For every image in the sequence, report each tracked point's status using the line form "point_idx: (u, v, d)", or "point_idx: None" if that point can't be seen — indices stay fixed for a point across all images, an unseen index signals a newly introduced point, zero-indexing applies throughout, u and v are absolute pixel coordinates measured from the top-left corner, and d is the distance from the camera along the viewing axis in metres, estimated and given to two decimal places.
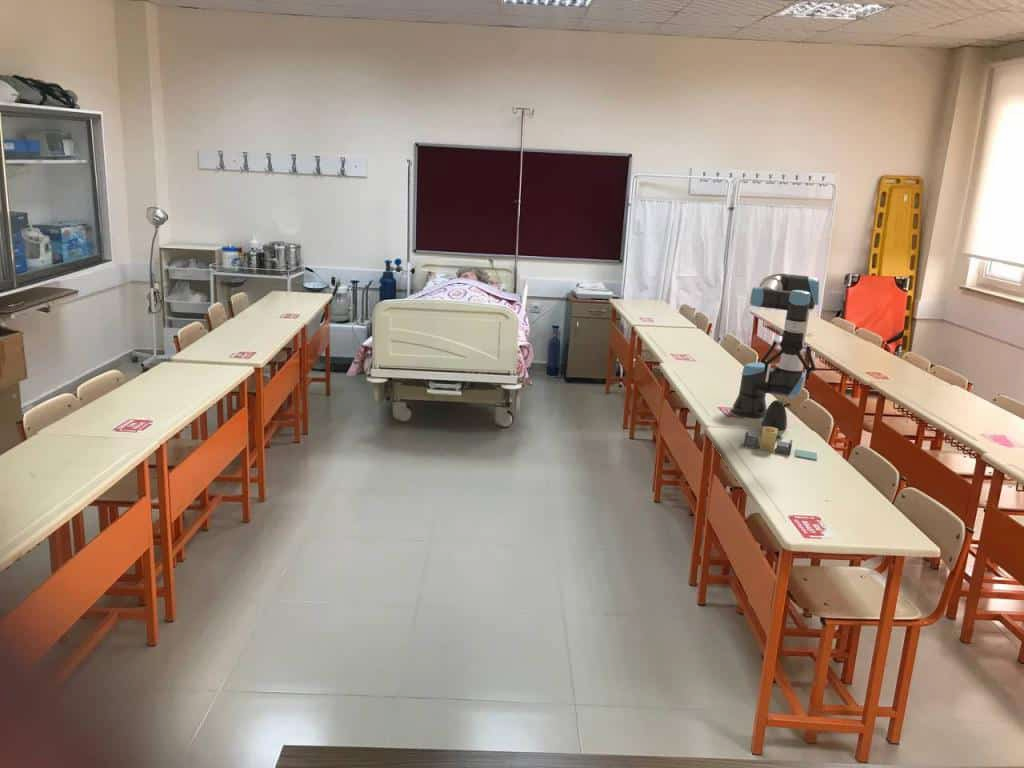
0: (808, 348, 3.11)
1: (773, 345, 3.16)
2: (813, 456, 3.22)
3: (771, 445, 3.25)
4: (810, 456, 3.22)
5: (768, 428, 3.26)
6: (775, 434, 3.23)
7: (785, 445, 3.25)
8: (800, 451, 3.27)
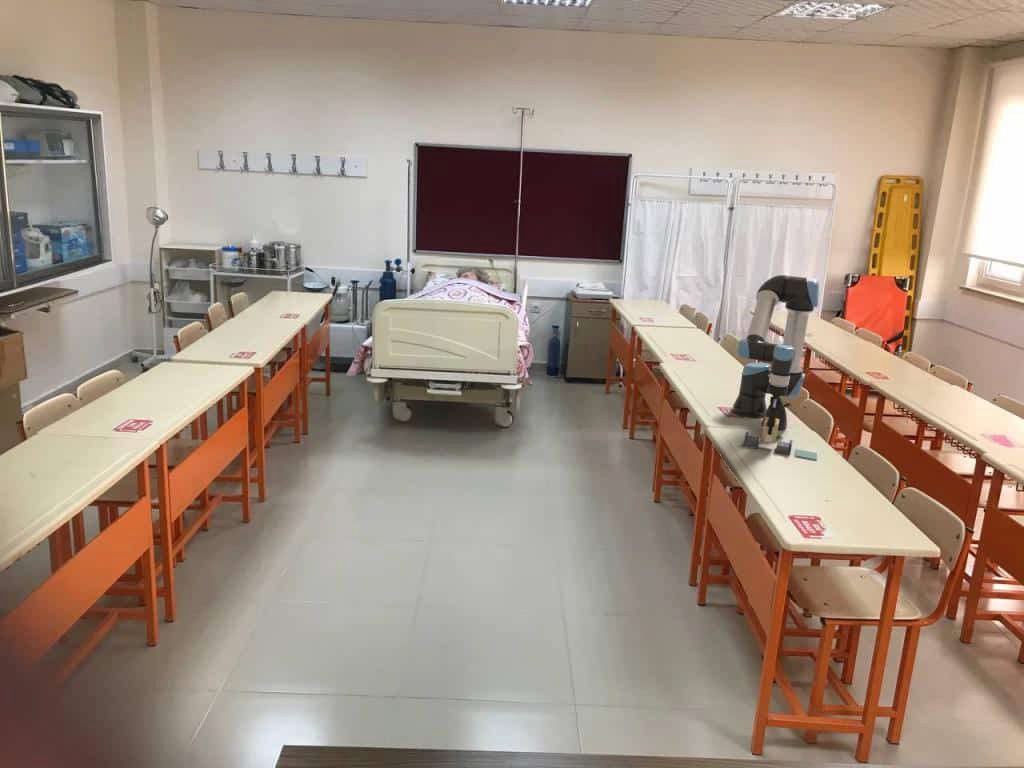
0: (771, 404, 3.18)
1: None
2: (813, 456, 3.22)
3: (773, 436, 3.24)
4: (810, 456, 3.22)
5: None
6: (777, 425, 3.22)
7: (785, 445, 3.25)
8: (800, 451, 3.27)
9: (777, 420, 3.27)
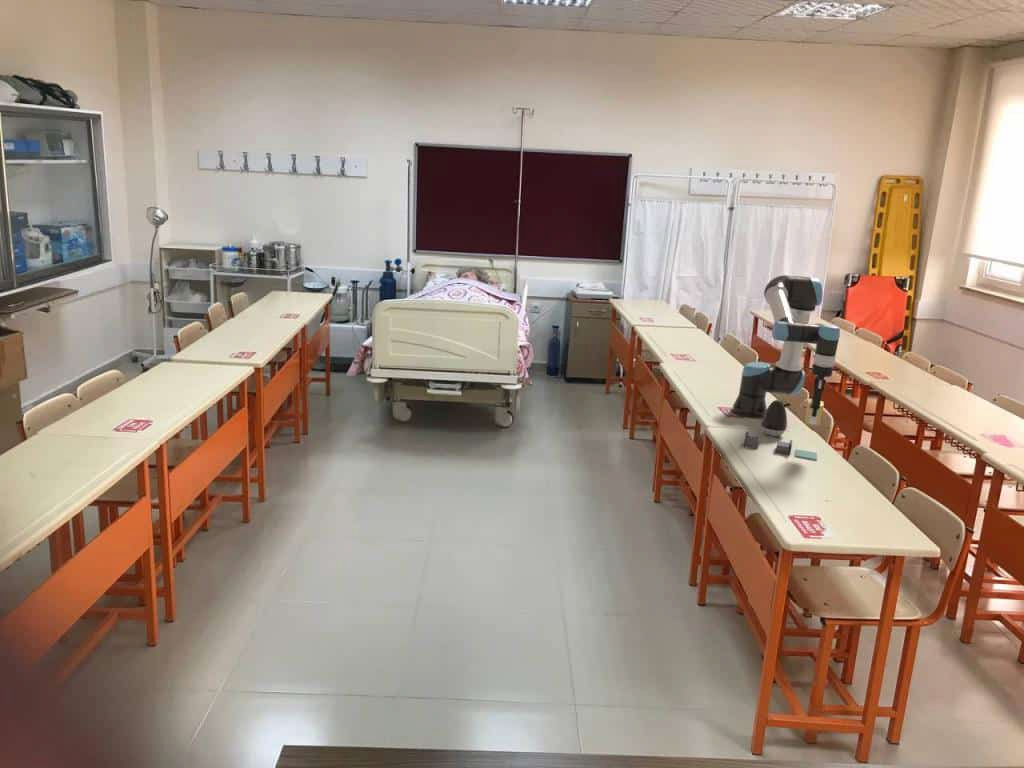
0: (816, 384, 3.11)
1: None
2: (813, 456, 3.22)
3: (817, 418, 3.16)
4: (810, 456, 3.22)
5: None
6: (821, 407, 3.14)
7: (785, 445, 3.25)
8: (800, 451, 3.27)
9: (821, 402, 3.19)
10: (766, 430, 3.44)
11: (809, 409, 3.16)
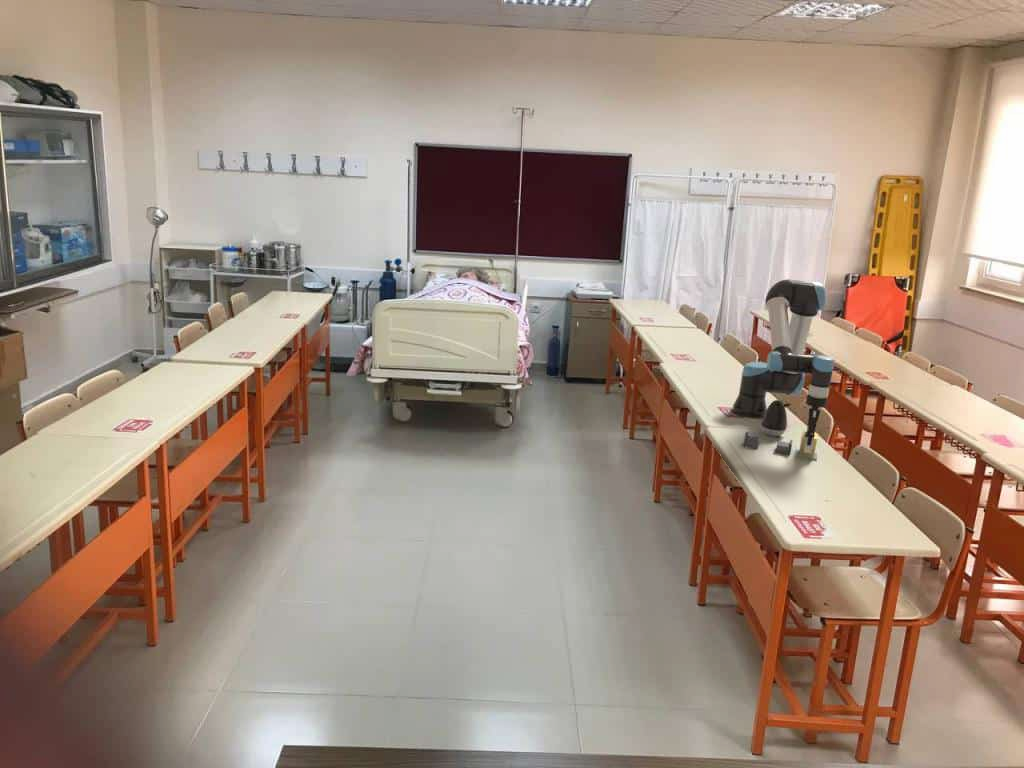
0: (811, 413, 3.14)
1: (811, 407, 3.25)
2: None
3: (811, 451, 3.20)
4: None
5: None
6: (815, 439, 3.18)
7: (785, 445, 3.25)
8: None
9: (815, 435, 3.23)
10: (766, 430, 3.44)
11: (803, 442, 3.20)
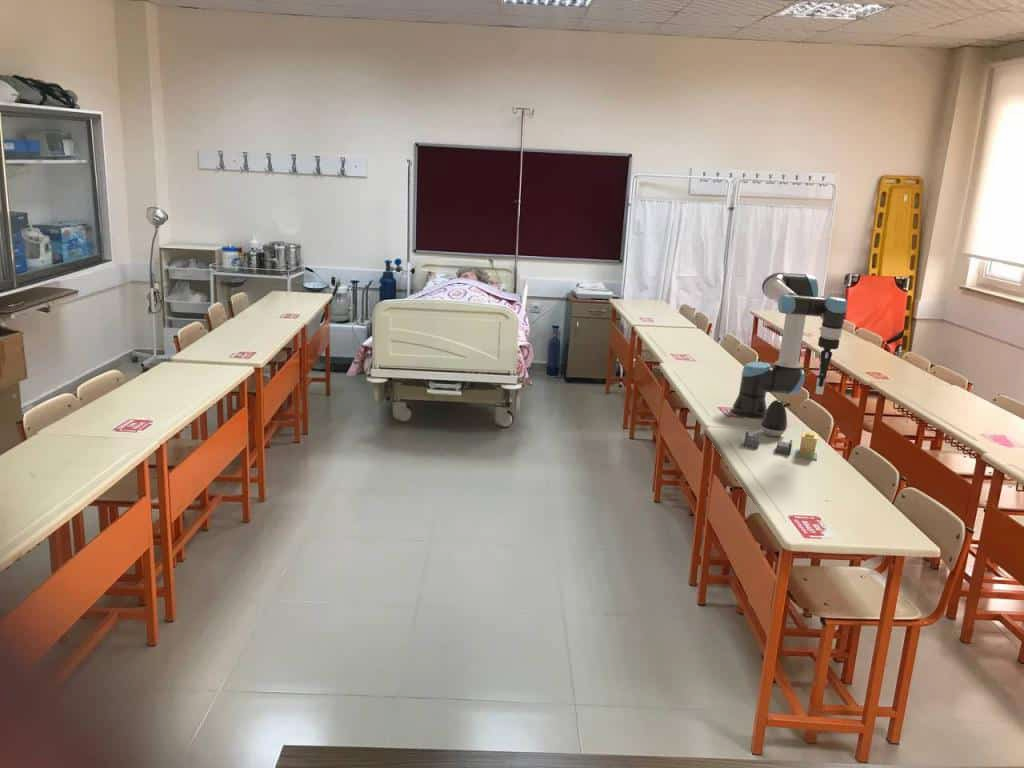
0: (823, 354, 3.14)
1: None
2: None
3: (811, 451, 3.20)
4: None
5: (808, 433, 3.21)
6: (815, 439, 3.18)
7: (785, 445, 3.25)
8: None
9: (815, 435, 3.23)
10: (766, 430, 3.44)
11: (803, 442, 3.20)
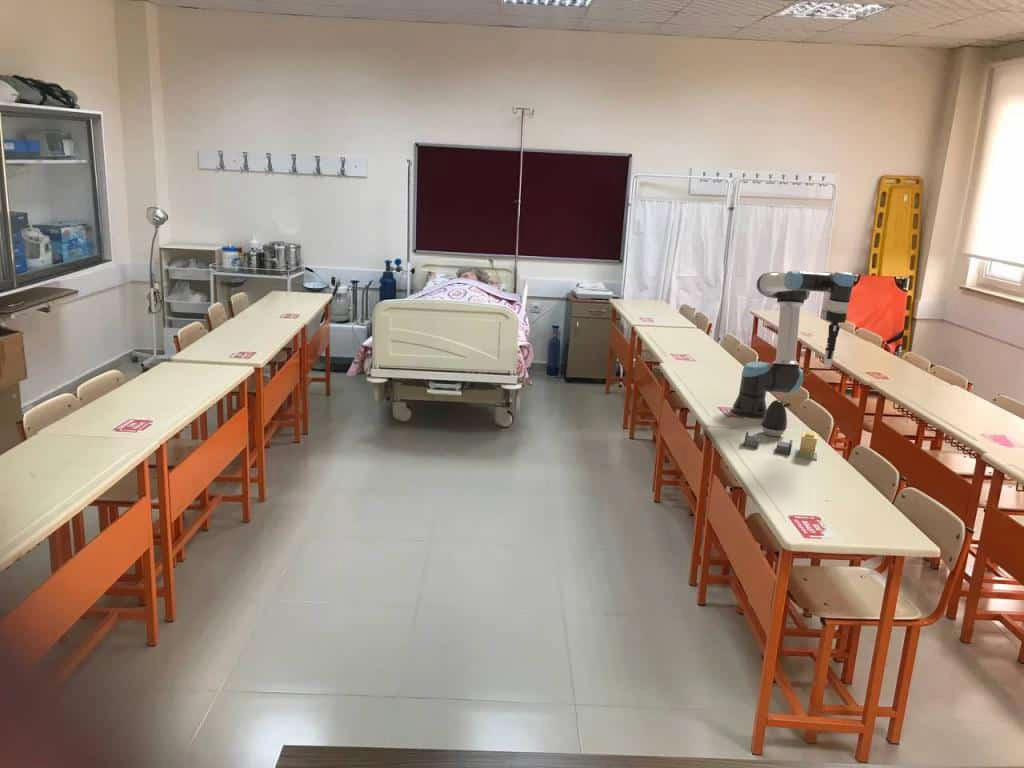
0: (831, 327, 3.20)
1: None
2: None
3: (811, 451, 3.20)
4: None
5: (808, 433, 3.21)
6: (815, 439, 3.18)
7: (785, 445, 3.25)
8: None
9: (815, 435, 3.23)
10: (766, 430, 3.44)
11: (803, 442, 3.20)
